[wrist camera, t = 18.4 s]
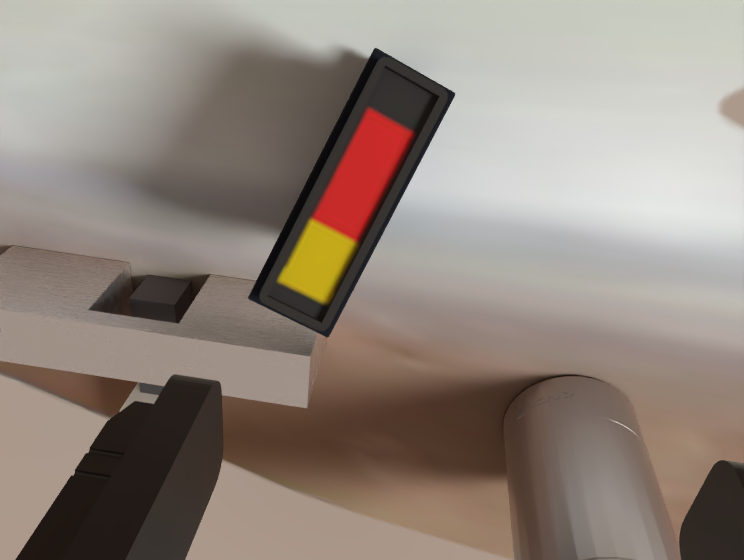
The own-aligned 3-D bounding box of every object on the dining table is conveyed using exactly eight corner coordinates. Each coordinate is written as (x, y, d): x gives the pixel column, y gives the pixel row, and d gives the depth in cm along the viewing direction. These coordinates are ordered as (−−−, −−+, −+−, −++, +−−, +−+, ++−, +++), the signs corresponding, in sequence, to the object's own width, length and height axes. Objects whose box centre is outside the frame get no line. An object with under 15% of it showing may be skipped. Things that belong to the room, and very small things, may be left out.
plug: (139, 273, 44) (105, 314, 40) (199, 282, 44) (172, 324, 39) (154, 412, 51) (126, 459, 46) (206, 420, 50) (183, 468, 46)
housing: (12, 245, 44) (-58, 300, 38) (330, 292, 43) (310, 356, 37) (23, 294, 46) (-42, 354, 40) (326, 340, 45) (307, 408, 39)
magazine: (268, 260, 40) (244, 304, 25) (366, 69, 39) (399, -3, 24) (322, 287, 41) (328, 345, 26) (419, 99, 40) (484, 47, 25)
